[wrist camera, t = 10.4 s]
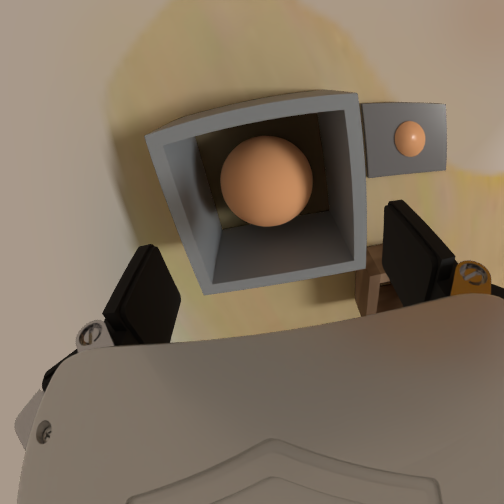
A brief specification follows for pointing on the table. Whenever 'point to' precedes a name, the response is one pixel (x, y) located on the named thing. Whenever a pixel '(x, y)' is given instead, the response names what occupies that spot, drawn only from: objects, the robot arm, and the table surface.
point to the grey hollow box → (275, 237)
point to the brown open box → (374, 285)
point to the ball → (266, 181)
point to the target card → (404, 138)
